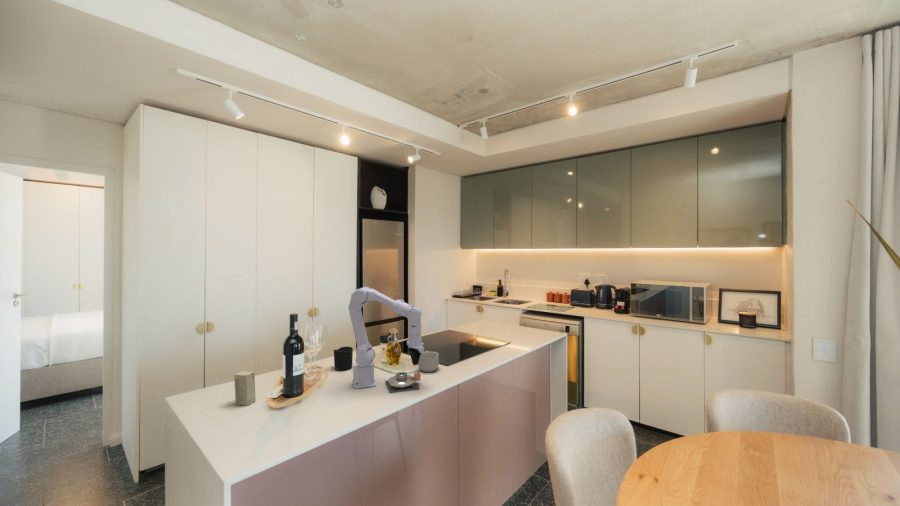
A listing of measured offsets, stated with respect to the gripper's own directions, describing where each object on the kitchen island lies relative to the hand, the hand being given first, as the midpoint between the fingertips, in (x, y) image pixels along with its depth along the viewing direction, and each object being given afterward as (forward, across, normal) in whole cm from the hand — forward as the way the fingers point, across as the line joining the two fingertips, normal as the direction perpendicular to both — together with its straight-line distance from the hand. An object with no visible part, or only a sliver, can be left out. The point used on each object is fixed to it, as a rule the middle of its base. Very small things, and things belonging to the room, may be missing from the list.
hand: (415, 364), depth 159 cm
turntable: (+8, +3, +5) cm, 10 cm away
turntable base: (+10, +3, +6) cm, 11 cm away
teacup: (+10, +17, -14) cm, 24 cm away
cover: (+7, +3, +6) cm, 9 cm away
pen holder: (+10, +40, +23) cm, 47 cm away
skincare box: (+9, +19, +67) cm, 70 cm away
